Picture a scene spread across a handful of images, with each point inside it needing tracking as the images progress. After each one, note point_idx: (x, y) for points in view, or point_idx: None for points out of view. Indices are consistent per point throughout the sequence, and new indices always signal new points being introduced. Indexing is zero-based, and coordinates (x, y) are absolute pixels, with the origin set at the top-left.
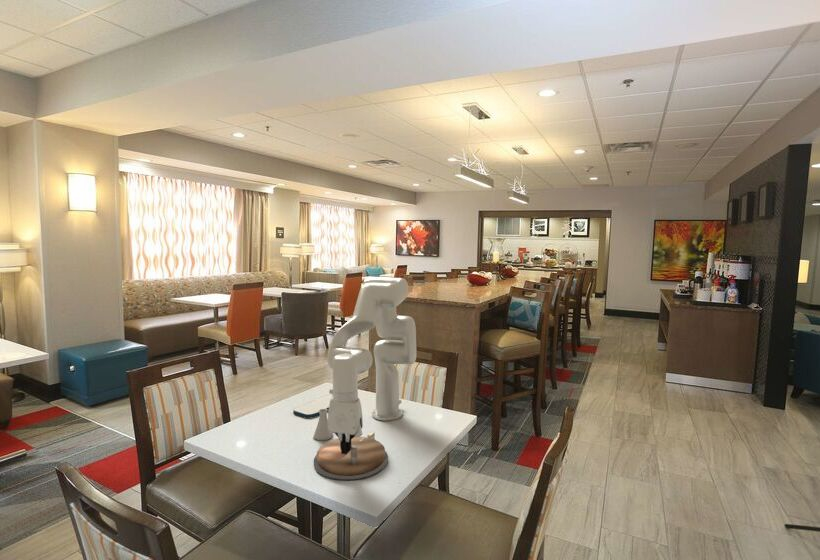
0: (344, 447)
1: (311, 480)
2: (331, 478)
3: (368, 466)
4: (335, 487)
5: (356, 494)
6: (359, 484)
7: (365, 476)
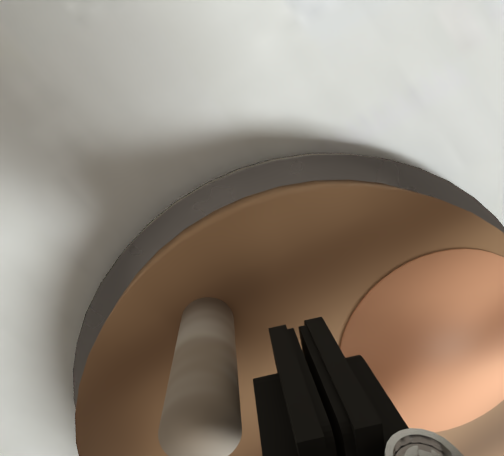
0: (299, 373)
1: (410, 73)
2: (297, 156)
3: (92, 349)
4: (208, 86)
5: (17, 87)
6: (93, 202)
7: (102, 282)
